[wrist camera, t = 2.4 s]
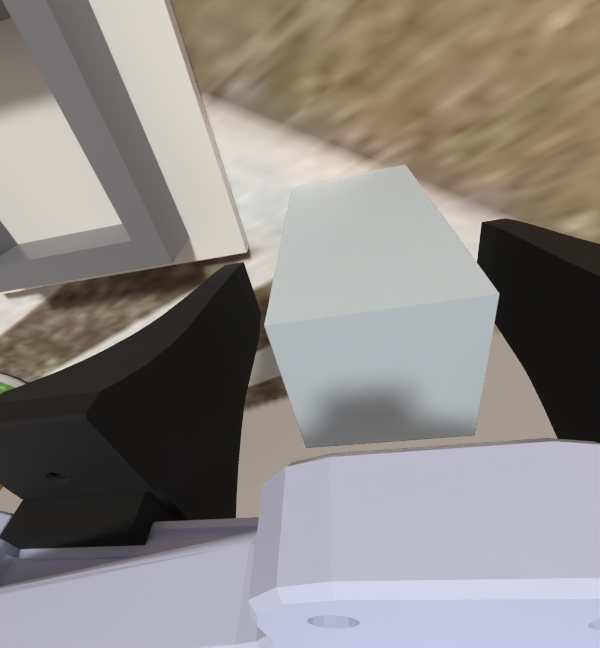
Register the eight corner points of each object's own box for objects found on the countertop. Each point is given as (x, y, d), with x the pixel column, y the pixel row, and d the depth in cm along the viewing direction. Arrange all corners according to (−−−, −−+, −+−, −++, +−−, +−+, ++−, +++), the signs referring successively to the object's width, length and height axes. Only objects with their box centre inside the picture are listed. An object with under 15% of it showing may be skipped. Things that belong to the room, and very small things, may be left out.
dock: (123, -145, 8) (60, -206, 6) (248, 246, 14) (237, 278, 12) (-251, 0, 10) (-389, -11, 8) (0, 289, 16) (-45, 323, 14)
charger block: (405, 164, 12) (499, 293, 6) (407, 266, 14) (474, 435, 8) (291, 187, 13) (264, 325, 6) (312, 280, 15) (305, 447, 9)
